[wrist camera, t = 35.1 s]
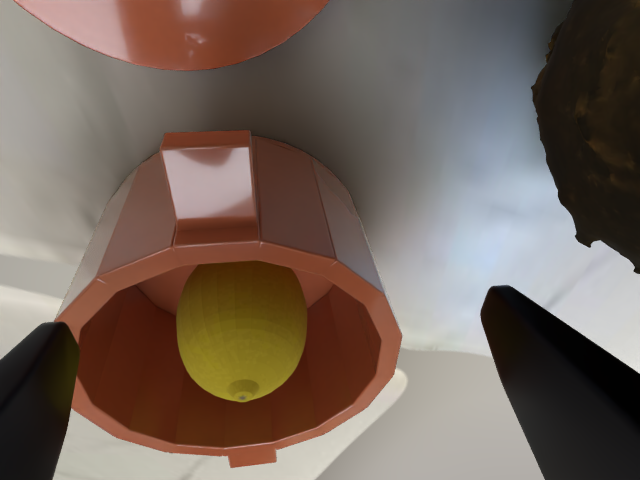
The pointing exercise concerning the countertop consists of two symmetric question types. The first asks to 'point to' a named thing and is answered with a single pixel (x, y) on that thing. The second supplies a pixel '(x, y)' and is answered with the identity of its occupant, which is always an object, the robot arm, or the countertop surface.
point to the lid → (177, 28)
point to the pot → (219, 247)
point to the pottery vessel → (595, 121)
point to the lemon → (241, 327)
